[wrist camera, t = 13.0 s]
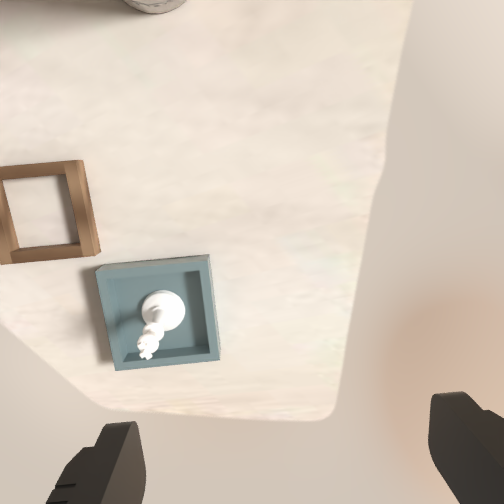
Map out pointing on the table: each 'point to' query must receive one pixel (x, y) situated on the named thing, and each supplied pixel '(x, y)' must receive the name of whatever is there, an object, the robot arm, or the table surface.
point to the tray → (130, 310)
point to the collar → (3, 233)
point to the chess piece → (159, 319)
